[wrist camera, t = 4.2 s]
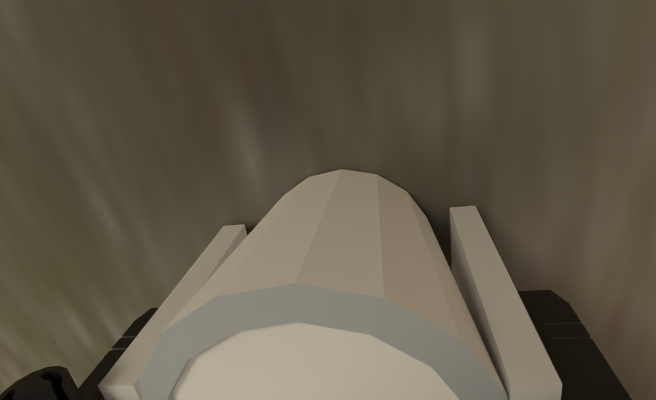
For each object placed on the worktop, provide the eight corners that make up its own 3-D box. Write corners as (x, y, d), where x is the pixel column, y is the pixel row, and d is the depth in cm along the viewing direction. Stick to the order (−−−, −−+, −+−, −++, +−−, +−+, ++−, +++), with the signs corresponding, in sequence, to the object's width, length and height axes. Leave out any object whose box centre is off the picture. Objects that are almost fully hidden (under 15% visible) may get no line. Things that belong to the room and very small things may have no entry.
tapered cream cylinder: (482, 292, 14) (570, 530, 7) (308, 347, 16) (257, 570, 9) (401, 111, 11) (423, 221, 5) (212, 201, 13) (59, 360, 7)
